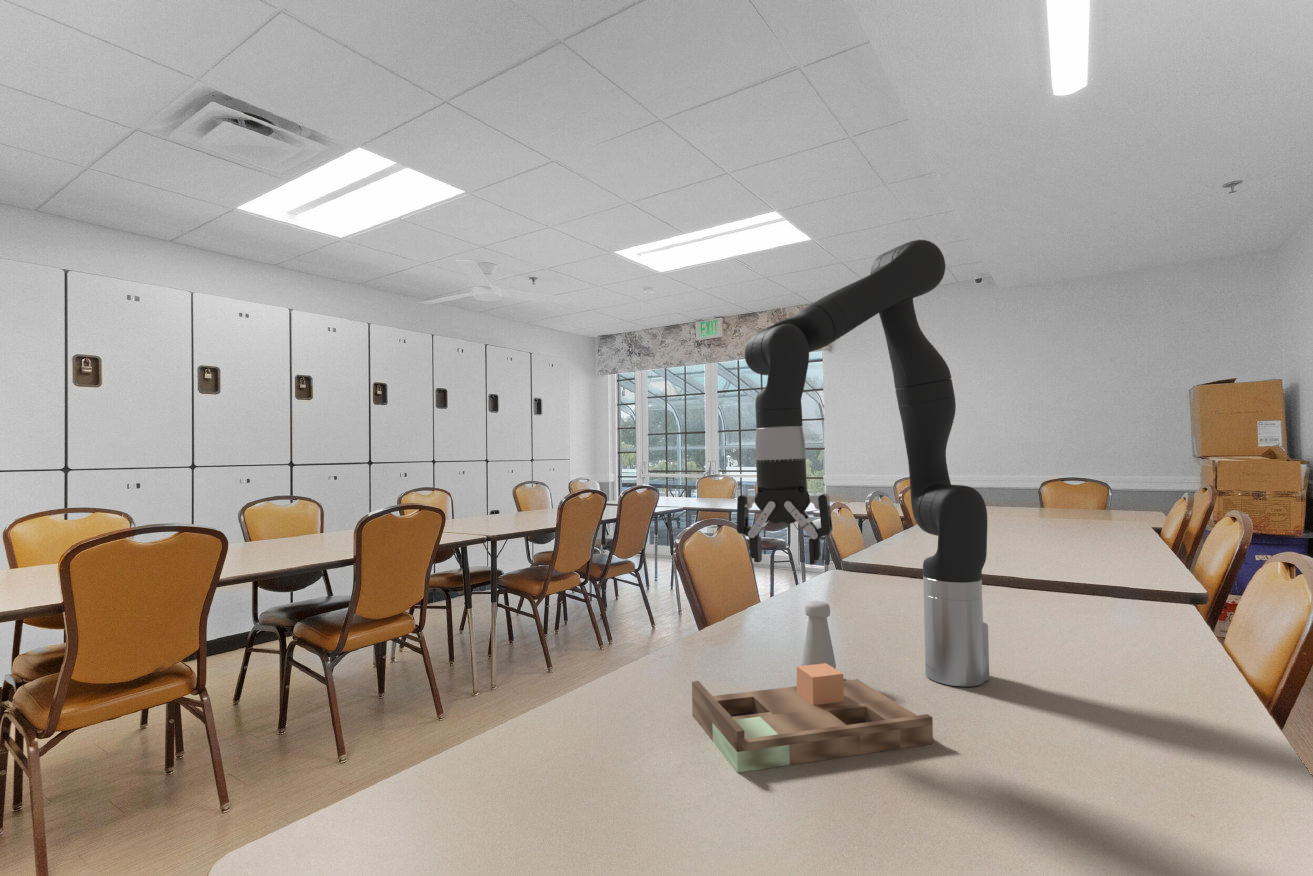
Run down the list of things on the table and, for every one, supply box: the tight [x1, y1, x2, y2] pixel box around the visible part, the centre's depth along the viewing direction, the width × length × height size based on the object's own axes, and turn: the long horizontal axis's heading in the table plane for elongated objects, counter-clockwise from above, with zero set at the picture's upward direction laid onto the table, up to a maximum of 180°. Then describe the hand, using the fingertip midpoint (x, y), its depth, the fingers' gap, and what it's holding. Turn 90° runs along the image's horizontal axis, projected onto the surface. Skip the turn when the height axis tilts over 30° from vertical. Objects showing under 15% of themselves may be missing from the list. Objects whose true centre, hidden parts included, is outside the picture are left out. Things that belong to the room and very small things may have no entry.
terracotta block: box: [796, 663, 844, 705], centre depth 96 cm, size 5×5×4 cm
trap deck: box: [691, 678, 934, 773], centre depth 90 cm, size 28×18×5 cm, turn 105°
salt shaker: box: [801, 600, 837, 669], centre depth 111 cm, size 6×6×13 cm
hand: (785, 562), depth 98 cm, fingers open, 8 cm apart
